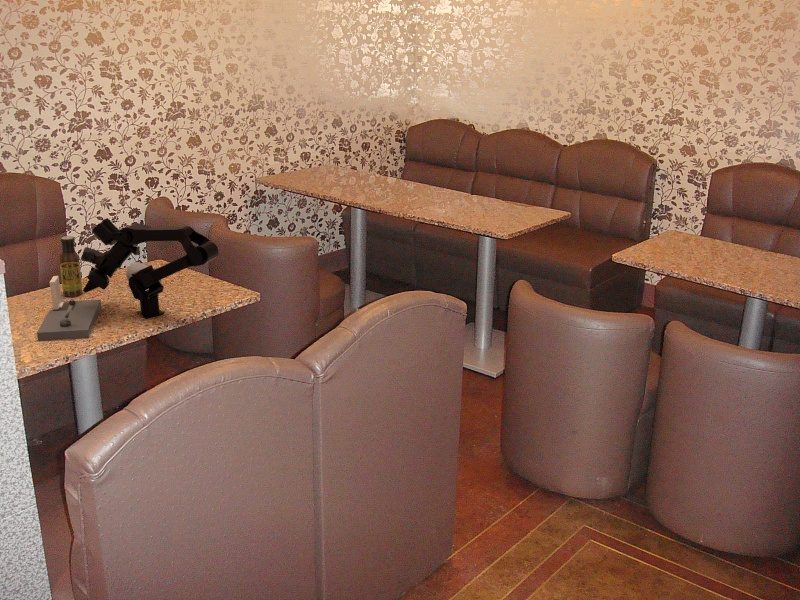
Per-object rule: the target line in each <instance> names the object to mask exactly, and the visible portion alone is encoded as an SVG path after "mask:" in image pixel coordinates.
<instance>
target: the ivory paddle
mask: <svg viewBox="0 0 800 600" xmlns="http://www.w3.org/2000/svg"><path fill="white" fill-rule="evenodd" d="M49 287H50V295H51V300H52V301H51V302H52V305H51V307H50V309H51V308H52V309H53V310H56V309H59V308H62V307H63V305H64V302H62V301H63V298H62V291H61V285H60V277H59V275H53V276H52V278H51V279H50V281H49Z"/></svg>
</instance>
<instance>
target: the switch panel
mask: <svg viewBox="0 0 800 600" xmlns="http://www.w3.org/2000/svg"><path fill="white" fill-rule="evenodd" d="M69 301H70V300H68V301H67V300H65V301H64V300H62V302H64V305H63V307H62V308H59V309H56V310H53V309H52V308H51V307H50V309H49V311H48V312H47V314H46V316H45V318H44V319H43V321H42V323H41V324H40V327H39V328H38V330H37V332H36V337H37V341H38V340H42V341H54V340H55V341H56V340H58V339H59V340H72V339H74V340H75V339H89V338H90V336H91V333H92V330H93V328H94V326H95V323H96V321H97V318H98V316H99V314H100V312H101V309H102V300H101V299H86V300H83V299H82V300H74V301H75V305H73V307H72V309H71V312H70V315H69V317H68V318H65V315H66V312H67V310H68V307H69Z"/></svg>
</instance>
